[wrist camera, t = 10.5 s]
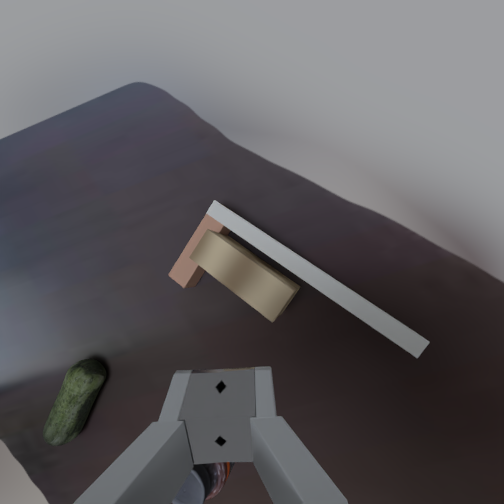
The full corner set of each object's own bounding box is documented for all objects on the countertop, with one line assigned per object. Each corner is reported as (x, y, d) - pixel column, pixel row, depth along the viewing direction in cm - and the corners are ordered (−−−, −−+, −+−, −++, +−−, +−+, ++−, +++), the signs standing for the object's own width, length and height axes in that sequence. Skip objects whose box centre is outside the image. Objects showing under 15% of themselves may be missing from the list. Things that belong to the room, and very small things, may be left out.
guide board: (415, 332, 29) (429, 342, 25) (353, 413, 30) (357, 435, 26) (223, 205, 36) (211, 198, 32) (180, 274, 37) (163, 275, 34)
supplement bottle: (251, 447, 33) (215, 534, 22) (210, 441, 34) (156, 520, 24) (249, 399, 33) (212, 461, 22) (208, 395, 35) (155, 452, 24)
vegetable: (94, 348, 41) (63, 359, 36) (116, 366, 40) (88, 379, 35) (61, 422, 42) (27, 442, 37) (82, 442, 41) (50, 465, 36)
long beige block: (300, 286, 33) (294, 291, 26) (283, 311, 33) (272, 322, 26) (229, 236, 36) (207, 228, 29) (214, 259, 36) (189, 257, 29)
